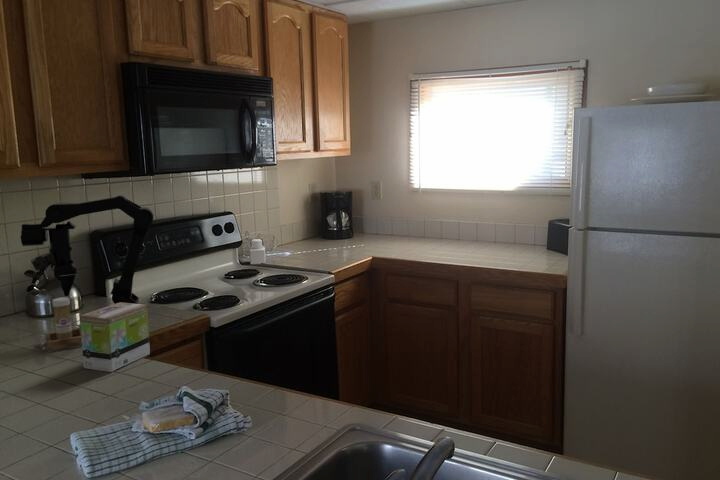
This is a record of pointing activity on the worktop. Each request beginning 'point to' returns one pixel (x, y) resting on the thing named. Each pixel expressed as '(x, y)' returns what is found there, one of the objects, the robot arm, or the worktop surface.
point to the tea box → (114, 336)
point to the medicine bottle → (257, 251)
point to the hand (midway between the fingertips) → (65, 292)
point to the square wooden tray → (63, 341)
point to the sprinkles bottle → (62, 318)
